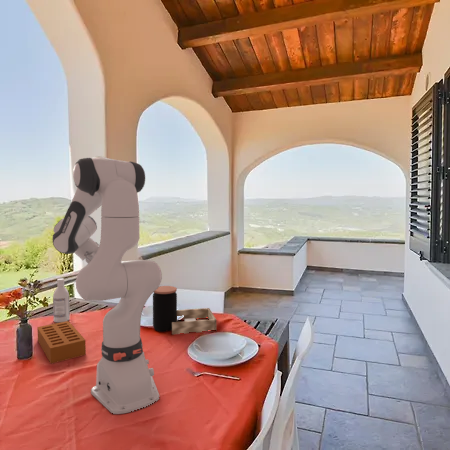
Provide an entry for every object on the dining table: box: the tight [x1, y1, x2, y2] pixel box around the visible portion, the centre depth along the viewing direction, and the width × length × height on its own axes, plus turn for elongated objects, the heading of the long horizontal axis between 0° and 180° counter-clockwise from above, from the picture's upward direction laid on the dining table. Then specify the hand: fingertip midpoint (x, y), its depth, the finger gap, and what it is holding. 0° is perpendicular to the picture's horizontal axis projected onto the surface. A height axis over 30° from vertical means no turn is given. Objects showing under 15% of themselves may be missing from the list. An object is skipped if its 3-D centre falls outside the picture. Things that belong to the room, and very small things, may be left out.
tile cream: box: [184, 318, 197, 321], centre depth 161 cm, size 5×5×2 cm
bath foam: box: [52, 277, 71, 323], centre depth 162 cm, size 7×7×20 cm
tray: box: [171, 307, 217, 335], centre depth 158 cm, size 20×17×5 cm
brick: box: [37, 320, 87, 364], centre depth 134 cm, size 25×12×6 cm, turn 38°
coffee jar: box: [152, 285, 178, 333], centre depth 154 cm, size 11×11×18 cm
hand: (112, 272), depth 148 cm, fingers open, 8 cm apart
